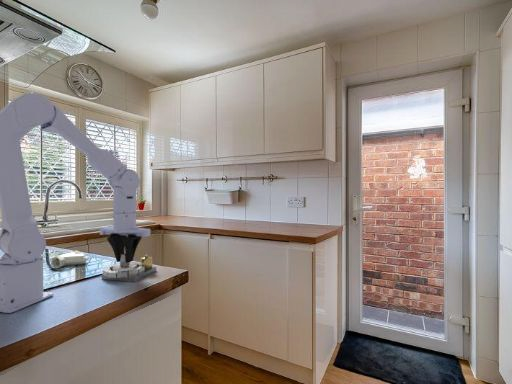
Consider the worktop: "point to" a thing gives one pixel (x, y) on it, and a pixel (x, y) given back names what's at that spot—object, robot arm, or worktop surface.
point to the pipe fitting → (68, 259)
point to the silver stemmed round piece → (124, 264)
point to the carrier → (130, 271)
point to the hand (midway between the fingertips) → (124, 261)
